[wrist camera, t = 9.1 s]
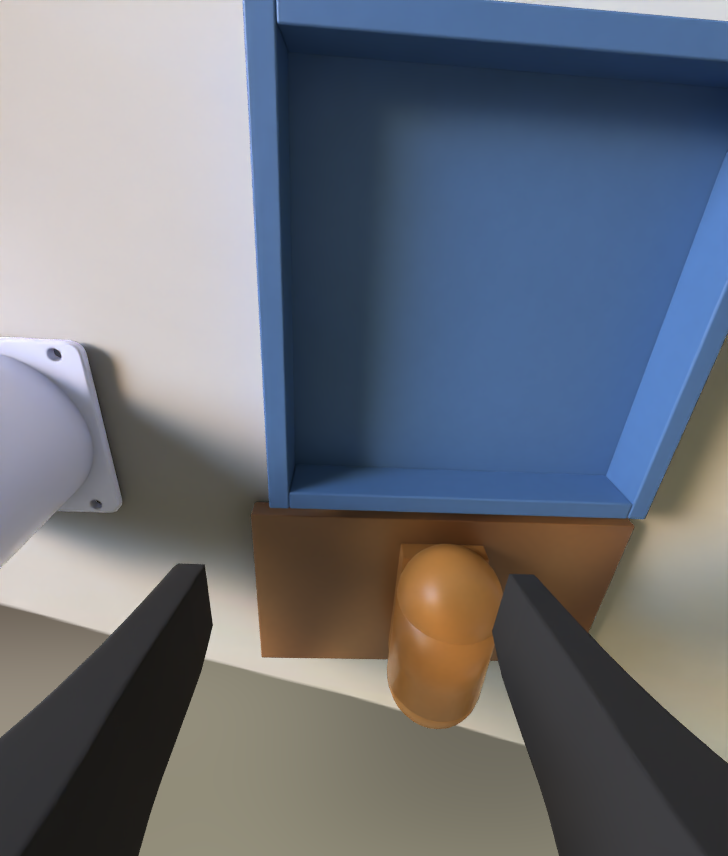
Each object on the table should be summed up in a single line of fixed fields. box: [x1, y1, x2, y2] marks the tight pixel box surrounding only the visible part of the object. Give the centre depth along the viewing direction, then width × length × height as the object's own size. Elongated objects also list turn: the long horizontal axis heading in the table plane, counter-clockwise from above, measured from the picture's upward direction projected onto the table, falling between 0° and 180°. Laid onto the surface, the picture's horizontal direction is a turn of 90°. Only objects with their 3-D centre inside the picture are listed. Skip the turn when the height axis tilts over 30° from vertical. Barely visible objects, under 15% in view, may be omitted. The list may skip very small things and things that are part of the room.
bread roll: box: [387, 543, 503, 729], centre depth 20 cm, size 5×10×5 cm, turn 177°
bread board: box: [251, 502, 634, 661], centre depth 23 cm, size 18×10×1 cm, turn 87°
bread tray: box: [243, 0, 728, 519], centre depth 15 cm, size 16×16×3 cm
